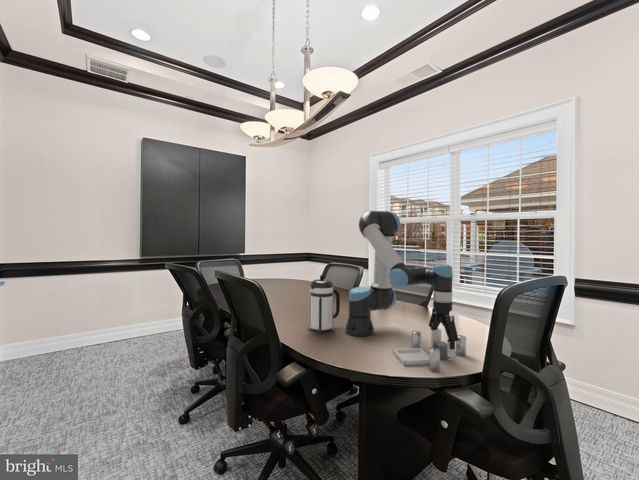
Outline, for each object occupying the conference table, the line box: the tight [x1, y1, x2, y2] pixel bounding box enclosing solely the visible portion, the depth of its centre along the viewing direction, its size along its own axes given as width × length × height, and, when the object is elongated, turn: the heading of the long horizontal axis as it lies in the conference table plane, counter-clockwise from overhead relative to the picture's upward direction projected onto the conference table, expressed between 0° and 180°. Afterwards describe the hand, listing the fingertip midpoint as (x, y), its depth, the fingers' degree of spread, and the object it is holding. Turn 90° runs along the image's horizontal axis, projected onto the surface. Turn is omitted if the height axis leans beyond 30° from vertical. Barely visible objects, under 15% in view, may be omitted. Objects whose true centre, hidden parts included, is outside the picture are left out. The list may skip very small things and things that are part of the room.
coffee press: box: [307, 274, 341, 335], centre depth 168 cm, size 17×16×30 cm
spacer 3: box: [428, 347, 441, 373], centre depth 120 cm, size 4×4×8 cm
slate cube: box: [432, 341, 451, 361], centre depth 132 cm, size 5×5×6 cm
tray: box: [392, 347, 429, 367], centre depth 131 cm, size 13×13×2 cm
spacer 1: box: [411, 329, 422, 349], centre depth 141 cm, size 4×4×8 cm
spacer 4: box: [455, 334, 467, 357], centre depth 135 cm, size 4×4×8 cm
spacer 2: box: [431, 328, 442, 348], centre depth 145 cm, size 4×4×8 cm
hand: (442, 350), depth 132 cm, fingers open, 13 cm apart
